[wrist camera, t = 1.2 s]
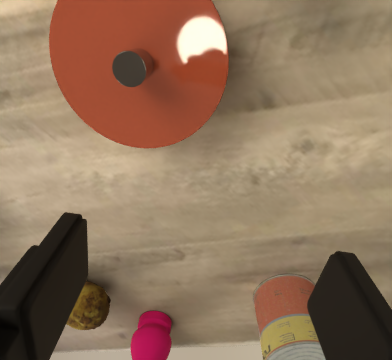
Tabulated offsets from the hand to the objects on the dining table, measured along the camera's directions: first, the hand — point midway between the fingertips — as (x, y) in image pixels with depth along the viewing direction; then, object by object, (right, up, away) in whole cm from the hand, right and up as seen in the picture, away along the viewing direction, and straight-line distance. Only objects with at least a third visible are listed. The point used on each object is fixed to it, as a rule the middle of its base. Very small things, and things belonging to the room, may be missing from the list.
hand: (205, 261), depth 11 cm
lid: (-6, +15, +18) cm, 24 cm away
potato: (-21, -16, +41) cm, 49 cm away
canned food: (+16, -18, +40) cm, 46 cm away
